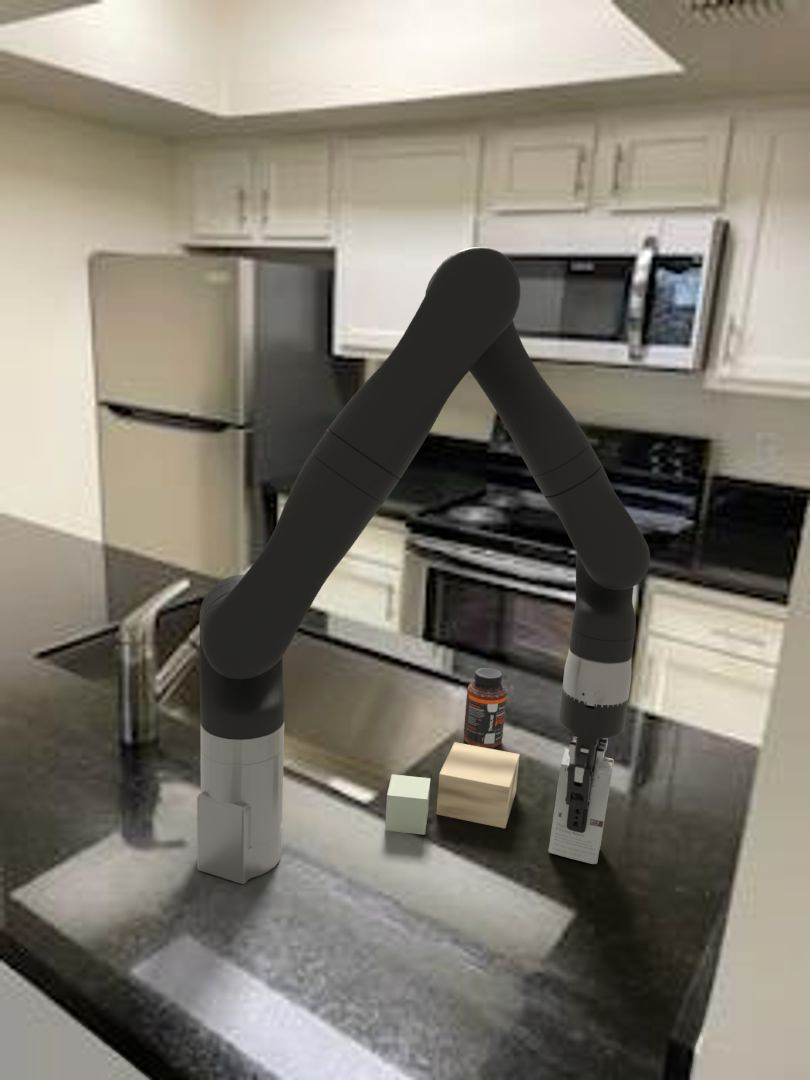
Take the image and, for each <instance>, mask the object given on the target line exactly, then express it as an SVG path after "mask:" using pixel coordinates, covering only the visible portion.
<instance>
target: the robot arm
mask: <svg viewBox="0 0 810 1080" xmlns="http://www.w3.org/2000/svg"><path fill="white" fill-rule="evenodd" d="M424 295H425V296H424V297H423V299H422V301H421V303H420V304H419V307H418V309H417V311H416V312H415V314H414V315H413V317H412V319H411V321H410V323H409V324H408V326H407V328H406V330H405V331H404V334H403V335H402V336H401V338H400V340H399V341H398V343H397V344H396V346H395V347H394V349H393V350H392V351H391V353H390V355H388V357H387V358H385V360H384V361H383V362H382V364H381V365H380V366H379V367H378V368H377V369H376V371H374V372H373V374H372V375H371V376H369V378H368V379H367V380H366V381H365V382H364V383H363V384H362V385H361V386H360V387H359V389H358V390H357V391H356V392H355V394H354V395H352V397H351V398H350V400H349V401H348V402H347V403H346V404H345V406H344V407H343V408H342V410H341V411H340V412H339V413H338V414H337V416H336V417H335V418H334V420H333V421H332V422H331V424H330V425H329V426H328V428H327V429H326V431H325V433H324V434H323V435H322V437H321V438H320V440H319V441H318V442H317V444H316V445H315V446H314V448H313V450H311V453H310V454H309V456H308V457H307V458H306V460H305V462H304V464H303V466H302V467H301V469H300V471H299V473H298V475H297V477H296V479H295V481H294V483H293V486H292V487H291V491H290V492H289V494H288V496H287V498H286V502H285V503H284V506H283V509H282V511H281V514H280V516H279V518H278V520H277V523H276V525H275V528H274V530H273V532H272V534H271V536H270V539H269V540H268V541H267V543H266V545H265V547H264V548H263V550H262V551H261V553H260V554H259V556H257V559H256V560H254V562H253V564H252V565H251V566H250V567H249V569H248V570H247V572H246V573H245V574H236V575H232V576H231V575H230V576H228V577H226V578H224V579H223V578H222V580H220V581H218V582H217V583H216V584H215V585H213V586H212V588H210V590H208V592H207V593H206V595H205V597H204V599H203V600H202V603H201V606H200V612H199V713H200V714H199V715H200V793H199V794H198V795H197V796H196V845H197V846H196V854H197V856H196V857H197V858H196V859H197V860H196V861H197V862H196V865H197V871H200V872H202V873H206V874H209V875H212V876H216V877H219V878H222V879H224V880H229V881H231V882H234V883H237V884H241V885H244V884H246V883H247V882H248V881H249V880H250V879H253V878H255V877H259V876H261V875H263V874H265V873H268V872H269V871H271V870H273V868H275V867H276V866H277V864H278V863H279V862H280V860H281V858H282V854H283V853H282V852H283V851H282V850H283V847H282V845H283V807H284V805H283V803H284V802H283V801H284V800H283V797H284V796H283V794H284V793H283V792H284V755H285V754H284V752H285V751H284V750H285V749H284V748H285V746H284V745H285V717H286V715H285V714H286V713H285V711H286V710H285V709H286V698H285V686H284V684H285V683H284V663H283V662H284V661H283V660H284V654H285V653H286V651H287V650H288V648H289V647H290V644H291V643H292V641H293V639H294V637H295V635H296V634H297V632H298V630H299V628H300V627H301V625H302V623H303V620H305V619H304V618H305V617H306V616H307V614H308V612H309V610H310V608H311V606H312V605H313V603H314V601H315V599H316V597H317V596H318V594H319V592H320V590H322V587H323V585H324V584H325V583H326V581H327V579H328V578H329V576H331V574H332V572H333V571H334V570H335V569H336V567H338V565H339V563H340V562H342V560H343V559H344V558H345V556H346V555H347V553H348V552H349V551H350V550H351V549H352V547H353V546H354V544H355V543H356V541H357V540H358V538H359V537H360V535H362V533H363V531H364V530H365V528H366V527H367V525H368V524H369V523H370V521H371V520H372V519H373V517H375V515H376V514H377V512H378V511H379V510H380V509H381V507H382V506H383V505H384V503H385V502H386V500H387V499H388V498H389V496H390V495H391V493H392V492H393V491H394V489H395V487H396V486H397V484H398V483H399V482H400V479H402V478H403V475H404V474H405V473H406V471H407V469H408V467H409V466H410V464H411V463H412V462H413V460H414V458H415V456H416V455H417V453H418V452H419V450H420V448H421V447H422V445H423V444H424V442H425V440H426V438H427V437H428V435H429V434H430V432H431V430H432V428H433V427H434V424H435V423H436V421H437V420H438V417H439V415H440V414H441V412H442V410H443V408H444V406H445V404H446V403H447V402H448V399H449V398H450V396H451V395H452V394H453V392H454V391H455V389H457V387H458V385H459V384H460V382H462V380H463V379H464V378H465V376H466V375H467V374H468V373H470V374H471V375H472V377H473V378H474V380H475V381H476V382H477V384H478V386H479V387H480V388H481V390H482V391H483V392H484V394H485V395H486V397H487V398H488V400H489V402H490V403H491V405H492V406H493V408H494V410H495V411H496V414H497V415H498V416H499V418H500V419H501V421H502V423H503V425H504V427H505V429H506V431H507V433H508V434H509V436H510V438H511V439H512V441H513V443H514V445H515V447H516V449H517V450H518V453H519V455H520V456H521V458H522V459H523V462H524V463H525V465H526V467H527V469H528V471H529V472H530V474H531V476H532V477H533V479H534V481H535V483H536V485H537V486H538V488H539V490H540V492H541V493H542V495H543V496H544V499H545V500H546V502H547V503H548V505H549V506H550V508H551V509H552V510H553V511H554V513H555V514H556V516H558V519H559V520H560V522H561V524H562V526H563V527H564V530H565V531H566V534H567V535H568V537H569V541H570V542H571V543H572V545H573V548H574V550H575V551H576V555H575V557H576V558H575V605H574V611H573V616H572V624H571V630H570V632H571V633H570V639H569V647H568V652H567V657H566V659H565V660H566V661H565V664H564V671H563V672H564V673H563V679H562V681H563V682H562V690H561V697H560V705H559V706H560V707H559V714H558V715H559V722H560V724H561V725H562V726H563V727H564V729H566V730H567V731H570V732H571V733H573V737H572V740H570V742H569V747H568V749H569V756H570V761H569V766H568V769H567V771H568V774H567V780H568V781H567V795H566V798H565V801H566V804H567V805H569V810H568V818H567V828H568V829H569V830H572V831H575V832H579V833H584V832H585V830H586V825H587V817H588V809H589V805H590V804H591V793H592V788H593V787H595V786H596V785H597V783H598V775H599V770H600V764H601V763H602V761H603V759H604V757H605V754H606V752H607V747H608V743H609V742H608V740H609V739H612V738H615V737H618V736H620V735H621V734H622V733H623V731H624V730H625V726H626V718H627V713H628V712H627V711H628V706H629V705H628V703H629V699H630V698H629V697H630V689H631V683H632V659H633V658H632V657H633V651H634V642H635V637H636V636H635V634H636V627H637V626H636V625H637V621H636V612H635V608H634V604H633V594H634V588H635V586H637V585H638V584H639V583H641V581H642V580H643V579H644V578H645V576H646V575H647V573H648V570H649V568H650V564H651V563H650V562H651V553H650V548H649V545H648V543H647V541H646V539H645V537H644V536H643V534H642V532H641V531H640V529H639V527H638V525H637V524H636V523H635V521H634V520H633V518H632V516H631V515H630V513H629V511H628V510H627V509H626V507H625V506H624V504H623V502H622V500H620V498H619V496H618V495H617V494H616V492H615V491H614V489H613V487H612V485H611V481H610V480H609V478H608V475H607V473H606V471H605V468H604V466H603V464H602V462H601V461H600V459H599V457H598V455H597V453H596V451H595V450H594V448H593V446H592V444H591V443H590V441H589V439H588V438H587V436H586V434H585V433H584V431H583V429H582V428H581V426H580V425H579V423H578V421H577V420H576V419H575V417H574V415H572V413H571V412H570V410H569V409H568V408H567V406H566V405H565V404H564V403H563V401H562V400H561V399H560V398H559V396H558V395H557V394H556V393H555V392H554V390H552V388H551V387H550V385H549V384H548V383H547V382H546V380H545V379H544V377H543V375H541V374H540V372H539V369H537V367H536V365H535V364H534V362H533V361H532V359H531V358H530V356H529V354H528V352H527V351H526V348H525V347H524V344H523V343H522V340H521V338H520V336H519V332H518V331H517V330H518V329H517V327H516V326H515V323H514V319H515V316H516V315H517V312H518V309H519V306H520V299H521V283H520V278H519V274H518V272H517V269H516V267H515V265H514V264H513V263H512V261H511V259H509V257H507V255H506V254H503V253H502V252H501V251H498V250H496V249H494V248H490V247H483V246H477V247H476V246H475V247H468V248H465V249H461V250H459V251H457V252H455V253H452V254H451V255H449V256H448V257H447V258H446V259H444V260H443V261H442V262H441V264H439V266H438V267H437V268H436V270H435V272H434V273H433V275H432V276H431V278H430V280H429V281H428V284H427V287H426V290H425V294H424ZM593 771H594V774H593V777H592V778H591V776H592V773H593Z"/></svg>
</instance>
